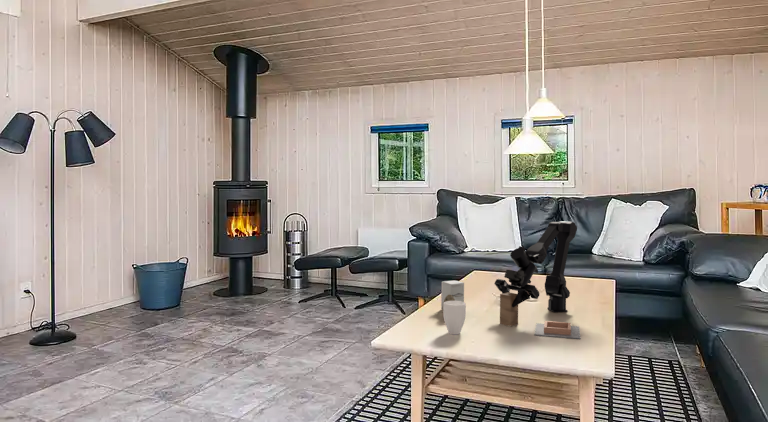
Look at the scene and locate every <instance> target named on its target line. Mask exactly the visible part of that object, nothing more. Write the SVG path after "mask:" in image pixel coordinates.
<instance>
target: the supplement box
mask: <svg viewBox="0 0 768 422" xmlns="http://www.w3.org/2000/svg"><path fill="white" fill-rule="evenodd" d="M440 293H441V300H440V301H441V302H440V303H441V304H440V306H441V307H440V308H441V310H442V307H443V302H444V300H445V298H446V296H447V295H449V294H450V295H452V296H453V297H454V299H455V301H462V302H465V301H464V300H465V282H463V281H459V280H456V279H455V280H444V281H441V292H440Z"/></svg>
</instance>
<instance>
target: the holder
mask: <svg viewBox="0 0 768 422" xmlns="http://www.w3.org/2000/svg"><path fill="white" fill-rule="evenodd" d="M534 329H535V330H534V333H533V335H534V336H535V337H536V336H537V337H538V336H539V337H549V338H550V337H551V338H559V339H574V340H581V330H580V326H579V325H572V324H571V322H563V321H551V320H550V321H549V320H545V321H544V322H543V323H541V322H540V323H539V322H536V324H535V328H534Z"/></svg>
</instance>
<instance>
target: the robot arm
mask: <svg viewBox="0 0 768 422" xmlns="http://www.w3.org/2000/svg"><path fill="white" fill-rule="evenodd" d="M577 231H578V226H577V225H576V223H575V222H574V221H564V220H563V221H562V220H561V221H551V222H549V223H548V226H547V228H546V229H545V231H544V232H543V234H542V235H541V236H540V238H539V239H538V241H537V242H536V243H534V244H531V246H530V247H528V248H527V249H526V248H525V247H524V246H518V248H515V249H514V250H512V251H511V252H510V256H509V257H510V258H511V260H512V261H513V262H514V264H515V266H516V267H518V268H519V269H518V270H517V271H516V270H511V269H506V270H505V273H504V276H503V277H504V278H505V279H507V280H508V281H507V280H505V279H500V278H498V279H497V278H496V280H495V281H494V286H496V287H495V288H497V289H498V291H500V292H501V294H502V293H507V292H510V293H511V290H512V291H517V293H516V294H517V296H516V298H515V299H514V301H513V303H512V307H515V306H517V305H518V306H519V305H520V304H521V303H523V302H526V301H527V300H530V299H535V300H538V299H539V296H540V291H539V290H538V288H537V287H536V285H534V284H531V283H532V281H531V279H532V278H533V275H534V273H535V274H538V273H539V269H538V266H536V264H537V265H542V264H543V263H544V262H545V260H546V258H547V256H548V254H547V251H548V249H549V247H550V246H551V245H552V243H553V241H555V239H556V238H557V244H556V250H555V254H554V260H553V265H552V271H551V273H550V274H547V275H546V276H545V282H544V290H545V295H546V296H548V297H549V299H548V300H547V301H548V304H547V305H548V307H547V310H550V312H553V313H563V312H565V313H566V312H568V309H567V299H569V298H570V294H571V292H570V290H569V288H568V287H567V281H566V278H565V269H566V264H567V260H568V253H569V249H570V243H571V242H572V241H573V240H574V238H575V237H576V233H577Z"/></svg>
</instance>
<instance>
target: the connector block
mask: <svg viewBox="0 0 768 422" xmlns="http://www.w3.org/2000/svg"><path fill="white" fill-rule="evenodd" d="M517 294H518V293H513V292H511V291H510V292H507V293H502V292H501V293H500V294H499V296H500V297H499V324H500V325H504V326H506V327H507V326H508V327H512V326H516V325H519V304H518V305H517V306H515V307H512V303H513V301H514V299H515V298H516V296H517Z"/></svg>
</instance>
